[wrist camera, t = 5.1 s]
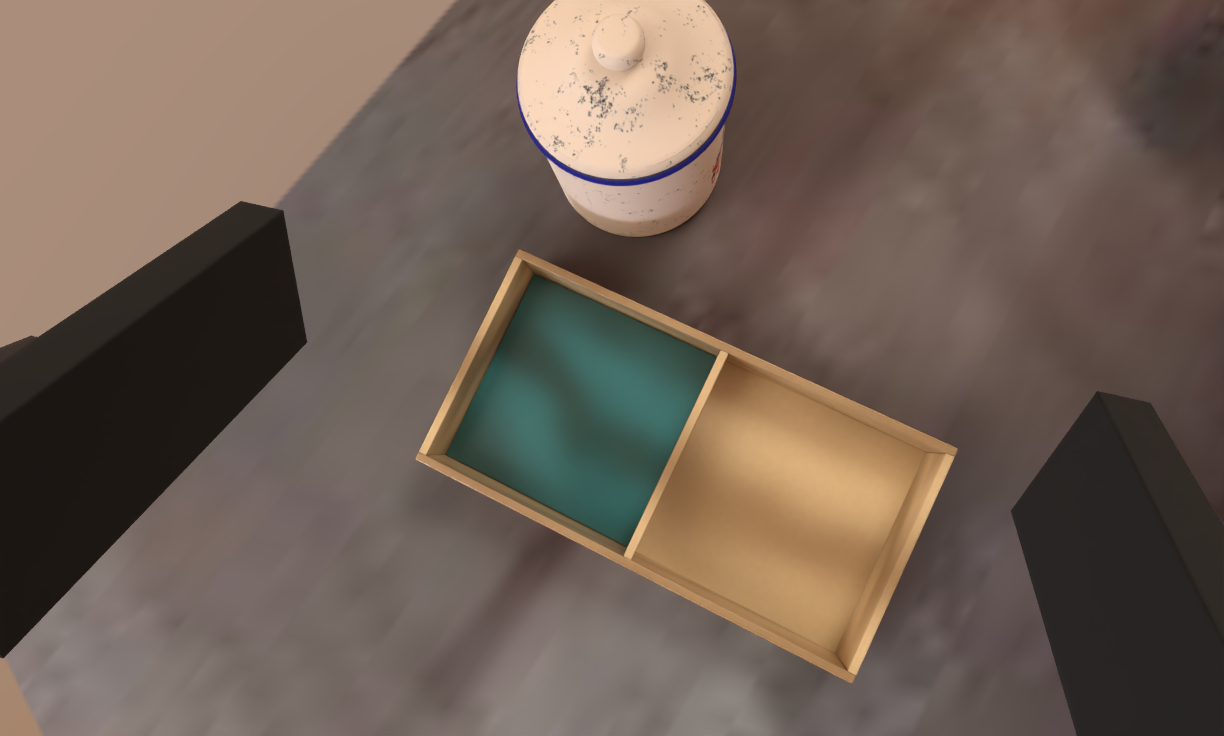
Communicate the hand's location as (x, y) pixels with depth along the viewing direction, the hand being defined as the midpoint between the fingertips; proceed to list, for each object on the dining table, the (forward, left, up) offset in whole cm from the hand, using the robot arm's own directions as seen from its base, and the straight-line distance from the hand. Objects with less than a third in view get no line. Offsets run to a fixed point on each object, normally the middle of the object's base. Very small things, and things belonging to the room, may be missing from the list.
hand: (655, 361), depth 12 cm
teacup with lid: (-12, -9, -25) cm, 29 cm away
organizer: (+2, +1, -25) cm, 25 cm away
